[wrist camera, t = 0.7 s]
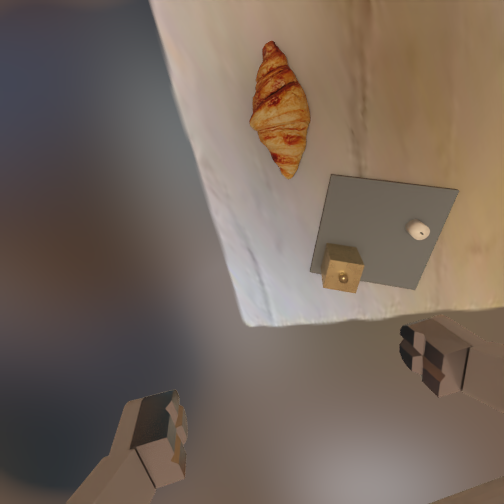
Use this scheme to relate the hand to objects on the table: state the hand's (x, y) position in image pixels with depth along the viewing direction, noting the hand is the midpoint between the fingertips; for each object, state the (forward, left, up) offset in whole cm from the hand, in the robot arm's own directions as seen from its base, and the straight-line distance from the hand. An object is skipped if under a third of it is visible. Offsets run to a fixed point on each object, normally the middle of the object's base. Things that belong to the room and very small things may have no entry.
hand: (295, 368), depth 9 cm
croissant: (-9, -6, -46) cm, 47 cm away
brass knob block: (+16, +10, -45) cm, 48 cm away
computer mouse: (+7, +22, -45) cm, 50 cm away
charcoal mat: (+10, +16, -45) cm, 49 cm away
